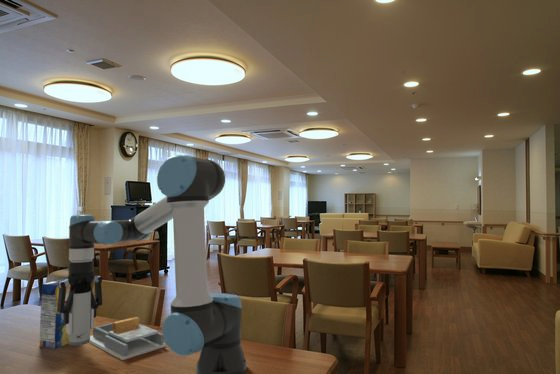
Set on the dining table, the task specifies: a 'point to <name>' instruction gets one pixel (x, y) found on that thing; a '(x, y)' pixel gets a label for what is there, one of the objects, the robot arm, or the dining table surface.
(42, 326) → the blue food box
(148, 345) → the dock
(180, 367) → the dining table surface
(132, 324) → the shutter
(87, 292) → the travel mug
